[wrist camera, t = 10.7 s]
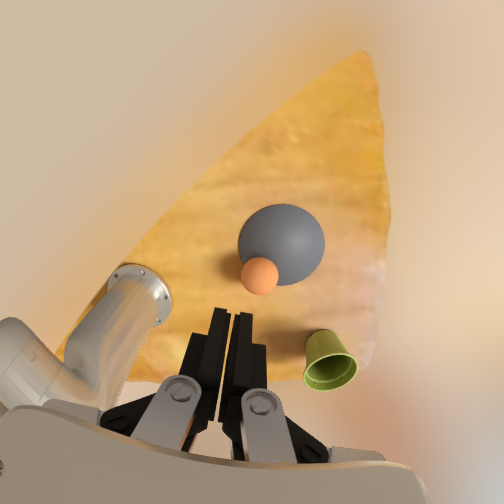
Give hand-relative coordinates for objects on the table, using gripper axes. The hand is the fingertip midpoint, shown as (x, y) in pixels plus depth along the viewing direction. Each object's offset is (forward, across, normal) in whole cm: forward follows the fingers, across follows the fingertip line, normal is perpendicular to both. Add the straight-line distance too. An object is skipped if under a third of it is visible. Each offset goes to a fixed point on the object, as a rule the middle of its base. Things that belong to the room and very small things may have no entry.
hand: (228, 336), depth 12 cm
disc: (+29, -6, +5) cm, 30 cm away
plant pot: (+29, -18, +22) cm, 41 cm away
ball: (+26, -3, +10) cm, 28 cm away
